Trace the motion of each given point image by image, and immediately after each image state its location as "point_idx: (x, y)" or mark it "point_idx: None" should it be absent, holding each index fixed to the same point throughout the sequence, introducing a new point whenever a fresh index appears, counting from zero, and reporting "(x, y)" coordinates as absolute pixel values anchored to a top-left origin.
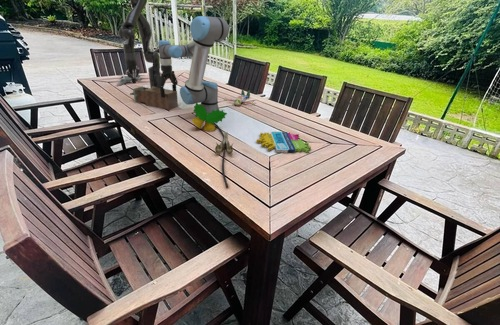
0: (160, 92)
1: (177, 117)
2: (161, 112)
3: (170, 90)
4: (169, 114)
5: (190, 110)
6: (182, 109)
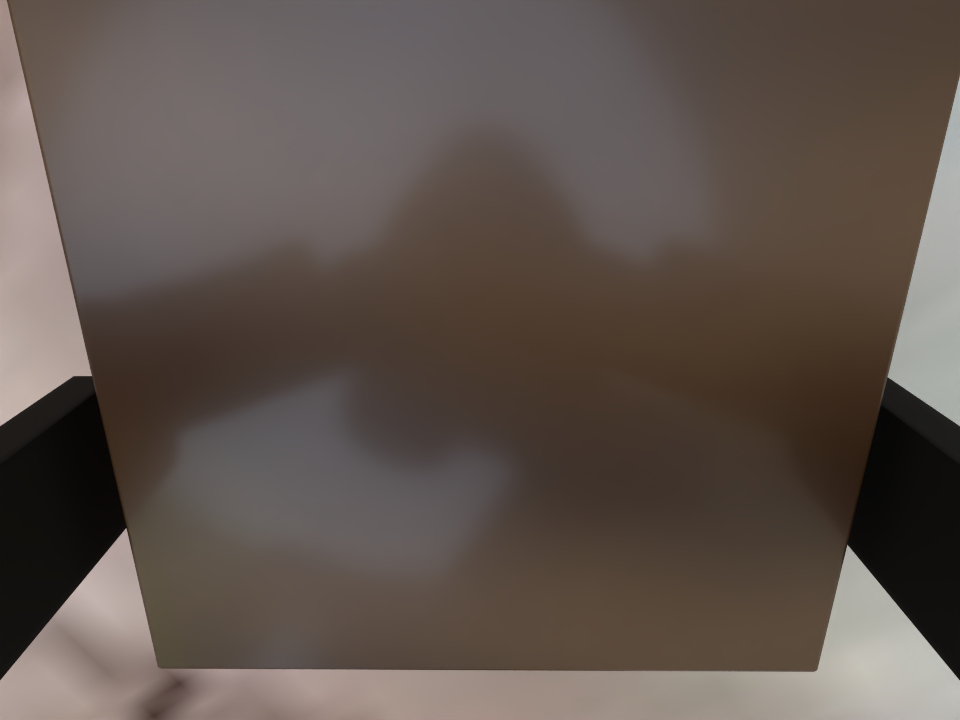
0: (137, 267)
1: (99, 711)
2: (86, 357)
3: (773, 428)
4: (113, 543)
5: (528, 699)
6: None
